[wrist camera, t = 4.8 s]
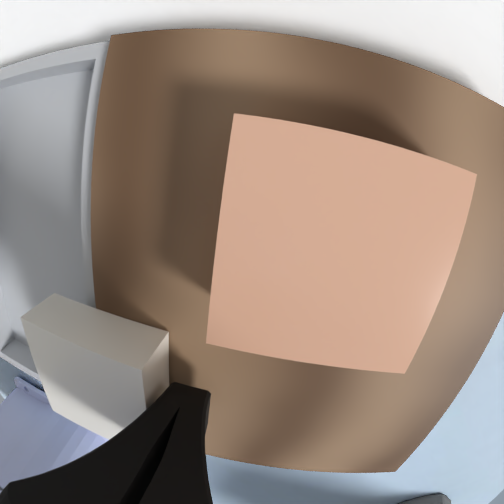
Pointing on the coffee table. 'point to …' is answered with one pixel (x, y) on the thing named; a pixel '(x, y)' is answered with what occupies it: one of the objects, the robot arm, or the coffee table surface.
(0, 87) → the tray
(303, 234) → the tile terracotta
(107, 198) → the board
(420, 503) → the coffeepot
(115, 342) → the tile white
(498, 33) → the coffee table surface
